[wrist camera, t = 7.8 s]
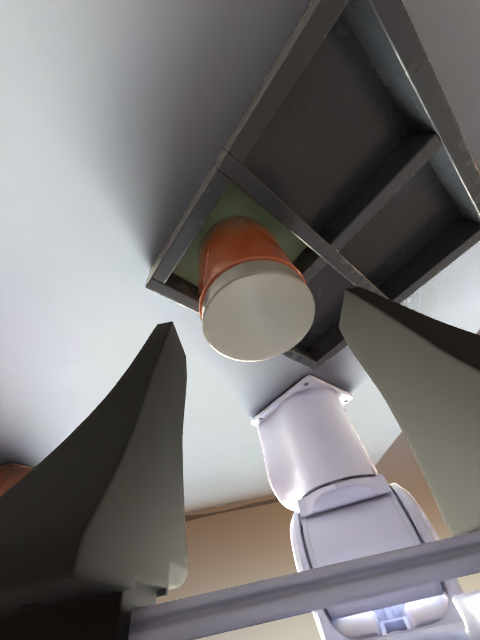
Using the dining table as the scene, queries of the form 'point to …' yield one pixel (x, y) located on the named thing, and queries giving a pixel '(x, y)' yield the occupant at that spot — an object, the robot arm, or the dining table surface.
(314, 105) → the rack
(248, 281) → the jar
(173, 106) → the dining table surface
